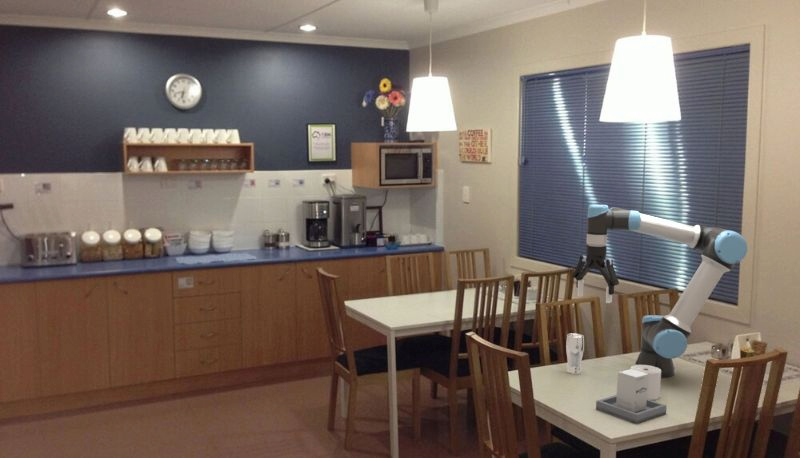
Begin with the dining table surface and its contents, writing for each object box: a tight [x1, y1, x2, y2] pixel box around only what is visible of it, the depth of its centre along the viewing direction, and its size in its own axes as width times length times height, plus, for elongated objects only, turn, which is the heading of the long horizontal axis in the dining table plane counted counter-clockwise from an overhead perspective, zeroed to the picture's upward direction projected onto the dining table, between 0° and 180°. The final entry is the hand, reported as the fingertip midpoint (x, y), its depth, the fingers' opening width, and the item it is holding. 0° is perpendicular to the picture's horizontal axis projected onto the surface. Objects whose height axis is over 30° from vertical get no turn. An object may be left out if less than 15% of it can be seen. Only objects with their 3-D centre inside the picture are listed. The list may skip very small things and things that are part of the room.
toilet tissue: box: [630, 364, 662, 401], centre depth 265 cm, size 11×12×10 cm
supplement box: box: [616, 368, 648, 413], centre depth 249 cm, size 7×7×13 cm
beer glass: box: [565, 333, 585, 375], centre depth 293 cm, size 7×7×15 cm
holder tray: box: [595, 394, 667, 425], centre depth 249 cm, size 16×16×3 cm
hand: (594, 299), depth 281 cm, fingers open, 13 cm apart
